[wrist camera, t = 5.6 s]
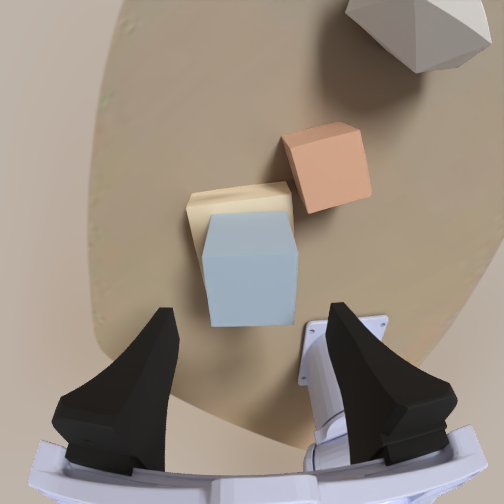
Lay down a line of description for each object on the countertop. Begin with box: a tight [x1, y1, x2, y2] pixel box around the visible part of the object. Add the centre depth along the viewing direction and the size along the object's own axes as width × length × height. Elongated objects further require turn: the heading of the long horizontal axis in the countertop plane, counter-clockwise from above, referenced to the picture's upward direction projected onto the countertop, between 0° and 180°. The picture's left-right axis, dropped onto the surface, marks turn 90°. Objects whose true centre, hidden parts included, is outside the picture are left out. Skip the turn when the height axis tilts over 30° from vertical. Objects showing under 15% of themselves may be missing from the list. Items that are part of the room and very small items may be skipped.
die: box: [345, 0, 492, 73], centre depth 11 cm, size 8×9×10 cm
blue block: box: [202, 212, 298, 327], centre depth 18 cm, size 4×4×5 cm
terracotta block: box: [281, 121, 372, 214], centre depth 18 cm, size 4×4×4 cm
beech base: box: [186, 181, 295, 292], centre depth 21 cm, size 6×6×3 cm
